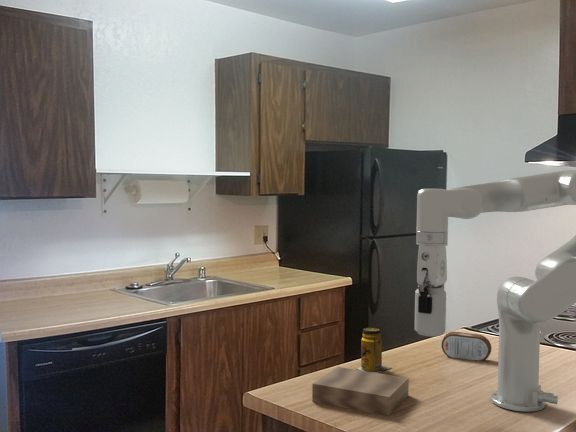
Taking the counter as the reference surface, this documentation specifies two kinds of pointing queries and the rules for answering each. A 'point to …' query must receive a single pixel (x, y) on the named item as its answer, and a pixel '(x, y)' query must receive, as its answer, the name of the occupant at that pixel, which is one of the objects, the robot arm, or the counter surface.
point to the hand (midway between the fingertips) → (430, 309)
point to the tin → (466, 346)
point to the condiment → (371, 351)
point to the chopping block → (361, 390)
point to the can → (432, 314)
